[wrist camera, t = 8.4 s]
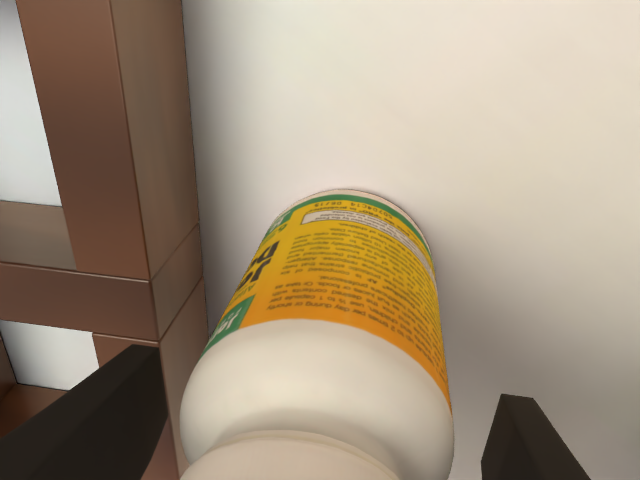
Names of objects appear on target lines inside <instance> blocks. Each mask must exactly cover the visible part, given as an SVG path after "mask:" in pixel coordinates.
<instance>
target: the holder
mask: <svg viewBox="0 0 640 480" xmlns="http://www.w3.org/2000/svg"><path fill="white" fill-rule="evenodd" d="M16 5H17V9H18V14H19V18H20V22H21V27H22V31H23V36H24V40H25V44H26V49H27V53H28V58H29V62H30V66H31V71H32V75H33V80H34V84H35V88H36V93H37V97H38V102H39V106H40V110H41V115H42V119H43V124H44V128H45V132H46V137H47V141H48V146H49V150H50V155H51V159H52V163H53V168H54V172H55V177H56V181H57V185H58V190H59V194H60V199H61V203H62V207H55V206H45V205H36V204H27V203H17V202H8V201H0V320H6V321H14V322H21V323H29V324H36V325H44V326H51V327H59V328H66V329H74V330H81V331H88V332H93V333H92V337H93V342H94V346H95V350H96V355H97V359H98V364H99V368H100V367H102V366H103V365H104V364H106V363H107V362H108V361H110V360H111V359H112V358H114V357H115V356H116V355H118V354H119V353H120V352H122V351H123V350H124V349H126V348H127V347H129V346H130V345H131V344H137V345H144V346H152V347H159V351H160V358H161V365H162V372H163V379H164V386H165V393H166V400H167V407H168V414H169V415H168V418H167V421H166V423H165V426H164V429H163V431H162V434H161V436H160V439H159V442H158V444H157V446H156V449H155V451H154V454H153V456H152V459H151V461H150V463H149V465H148V467H147V469H146V470H145V472H144V474H143V476H142V478H141V480H180V478H181V477H182V475H183V474H184V472H185V471H186V470H187V469H188V468H189V467H190V465H189V463H188V461H187V458H186V456H185V453H184V449H183V445H182V441H181V435H180V408H181V402H182V398H183V394H184V391H185V388H186V386H187V383H188V381H189V378H190V376H191V374H192V372H193V370H194V368H195V366H196V364H197V362H198V360H199V358H200V357H201V355H202V353H203V351H204V349H205V347H206V345H207V343H208V341H209V339H208V327H207V315H206V303H205V291H204V278H203V276H202V275H203V268H202V256H201V244H200V231H199V223H198V221H199V213H198V201H197V189H196V176H195V164H194V152H193V140H192V128H191V115H190V103H189V91H188V79H187V67H186V55H185V42H184V30H183V18H182V6H181V0H16ZM67 392H68V391H61V390H55V389H48V388H41V387H34V386H28V385H21V384H16V379H15V377H14V374H13V371H12V368H11V365H10V362H9V359H8V356H7V353H6V350H5V347H4V344H3V341H2V338H1V335H0V438H2V437H3V436H5V435H6V434H8V433H9V432H11V431H12V430H14V429H15V428H17V427H18V426H20V425H21V424H23V423H24V422H25V421H27V420H28V419H30V418H31V417H33V416H34V415H36V414H37V413H39V412H40V411H42V410H43V409H45V408H46V407H47V406H49V405H50V404H51V403H53V402H54V401H56V400H57V399H58V398H60V397H61V396H62V395H64V394H65V393H67Z"/></svg>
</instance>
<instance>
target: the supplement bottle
mask: <svg viewBox="0 0 640 480" xmlns="http://www.w3.org/2000/svg"><path fill="white" fill-rule="evenodd" d="M180 435H181V441H182V445H183V449H184V453H185V456H186V458H187V461H188V463H189V465H190V467H189V468H188V469H187V470H186V471H185V472H184V474H183V475H182V477H181V478H180V480H447V479H448V476H449V474H450V471H451V466H452V461H453V457H454V429H453V418H452V408H451V402H450V395H449V387H448V378H447V371H446V363H445V355H444V347H443V339H442V331H441V323H440V314H439V305H438V295H437V287H436V279H435V271H434V264H433V259H432V255H431V252H430V249H429V246H428V244H427V242H426V240H425V238H424V236H423V234H422V233H421V231H420V230H419V228H418V227H417V225H416V224H415V223H414V222H413V220H412V219H411V218H410V217H409V216H408V215H407V214H406V213H405V212H403V211H402V210H401V209H400V208H398V207H397V206H395V205H394V204H392V203H391V202H389V201H387V200H385V199H383V198H381V197H378V196H376V195H373V194H369V193H365V192H360V191H355V190H345V189H337V190H332V191H325V192H321V193H317V194H314V195H311V196H309V197H306V198H304V199H302V200H299V201H298V202H296V203H294V204H293V205H291V206H290V207H288V208H287V209H286V210H285V211H283V212H282V213H281V214H280V215H279V216H278V217H277V218H276V219H275V220H274V222H273V223H272V225H271V226H270V228H269V229H268V231H267V233H266V235H265V237H264V238H263V240H262V242H261V244H260V246H259V248H258V250H257V252H256V254H255V256H254V257H253V259H252V261H251V263H250V265H249V267H248V269H247V271H246V273H245V274H244V276H243V278H242V280H241V282H240V284H239V285H238V287H237V289H236V291H235V293H234V295H233V297H232V299H231V301H230V302H229V304H228V306H227V308H226V310H225V311H224V313H223V315H222V317H221V319H220V321H219V323H218V325H217V326H216V328H215V330H214V332H213V334H212V336H211V338H210V339H209V341H208V343H207V345H206V347H205V349H204V351H203V353H202V355H201V357H200V358H199V360H198V362H197V364H196V366H195V368H194V370H193V372H192V374H191V376H190V378H189V381H188V383H187V386H186V388H185V391H184V394H183V398H182V402H181V408H180Z"/></svg>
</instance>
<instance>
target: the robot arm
mask: <svg viewBox="0 0 640 480" xmlns="http://www.w3.org/2000/svg"><path fill="white" fill-rule="evenodd" d="M168 415H169V414H168V407H167V400H166V393H165V386H164V379H163V372H162V365H161V358H160V351H159V347H152V346H144V345H137V344H131V345H130V346H129V347H127V348H126V349H124V350H123V351H122V352H120V353H119V354H118V355H116V356H115V357H114V358H112V359H111V360H110V361H108V362H107V363H106V364H104V365H103V366H102V367H100V368H99V369H98V370H96V371H95V372H94V373H92V374H91V375H90V376H88V377H87V378H86V379H84V380H83V381H82V382H80V383H79V384H78V385H76V386H75V387H73V388H72V389H71V390H69V391H68V392H67V393H65V394H64V395H62V396H61V397H60V398H58V399H57V400H56V401H54V402H53V403H51V404H50V405H49V406H47V407H46V408H45V409H43V410H42V411H40V412H39V413H37V414H36V415H34V416H33V417H31V418H30V419H28V420H27V421H25V422H24V423H23V424H21V425H20V426H18V427H17V428H15V429H14V430H12V431H11V432H9V433H8V434H6V435H5V436H3V437H2V438H0V480H141V478H142V476H143V474H144V472H145V470H146V469H147V467H148V465H149V463H150V461H151V459H152V456H153V454H154V451H155V449H156V446H157V444H158V442H159V439H160V436H161V434H162V431H163V429H164V426H165V423H166V421H167V418H168ZM481 470H482V480H591V479H590V478H589V476H588V475H587V474H586V472H585V471H584V470H583V468H582V467H581V465H580V464H579V463H578V461H577V460H576V458H575V457H574V456H573V454H572V453H571V451H570V450H569V449H568V447H567V446H566V444H565V443H564V442H563V440H562V439H561V437H560V436H559V434H558V433H557V431H556V430H555V429H554V427H553V426H552V424H551V423H550V421H549V420H548V418H547V417H546V416H545V414H544V413H543V411H542V410H541V408H540V407H539V405H538V404H537V403H536V401H535V400H534V399H533V398H530V397H523V396H515V395H508V394H501V396H500V400H499V403H498V406H497V410H496V413H495V416H494V420H493V423H492V426H491V430H490V433H489V436H488V440H487V443H486V446H485V450H484V453H483V456H482V460H481Z"/></svg>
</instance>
